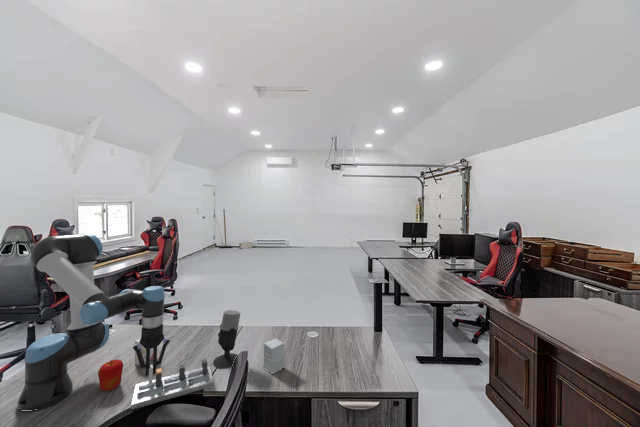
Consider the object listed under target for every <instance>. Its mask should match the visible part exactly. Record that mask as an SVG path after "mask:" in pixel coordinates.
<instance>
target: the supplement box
mask: <svg viewBox="0 0 640 427" xmlns="http://www.w3.org/2000/svg"><path fill="white" fill-rule="evenodd" d="M264 368H266V369H267V370H268V371H270V372H271V373H273V372H276V371H278V370H280V369H282V368H284V369H285V343H284V342H283V341H281V340H280V339H278V338H274V339H272V340H271V339H270V340H269V341H265V342H264V343H263V369H264Z"/></svg>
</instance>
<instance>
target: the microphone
mask: <svg viewBox="0 0 640 427" xmlns="http://www.w3.org/2000/svg"><path fill="white" fill-rule="evenodd" d="M240 319H241V312H240V311H237V310H225V311H224V312H223V315H222V319H221V324H220V325H219V332H218V333H217V335H218V340H217V342H218V344H219V346H220V347H221V349H222V350H223V351H224V352H223V353H224V354H220V355H219V356H217V357H216V358H214V360H213V362H212V365H213V367H214V368H216V369H220V370H225V368H227V369H230V368H233V367H232V364H233V361H234V359H235V357H236V356H237V355H238V354H236V353H234V352H233V353H231V351H232V350H234V348H235V345H236V340H237V334H238V329H239V324H240Z"/></svg>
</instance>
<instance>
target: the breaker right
mask: <svg viewBox="0 0 640 427" xmlns="http://www.w3.org/2000/svg"><path fill="white" fill-rule="evenodd" d="M207 366H208V359H207V358H205V359H204V358H203V359H202V360H201V368H202V371H200V375H203V374H206V373H208V369H207Z"/></svg>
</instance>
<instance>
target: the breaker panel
mask: <svg viewBox="0 0 640 427" xmlns="http://www.w3.org/2000/svg"><path fill="white" fill-rule="evenodd" d="M207 369H208V373H206V374H203V375H200V371H202V367H200V368H196V369H192V370H187V371H185V375H186V379H184V380H180V381H178V377H179V373H176V374H172V375H168V376H163V377H162V381H163V388H162V385H161V386H157V387H154V384H155V383H156V378H155V379H153V381H152V384H149V380H148V381H144V382H140V383H135V388H134V391H133V392H134V393H133V395H132V396H133V397H132V401H131V405H130V406H131V407H130V408H131V410H135V409H140V408H141V407H145V406H149V405H152V404H157V403H159V402H163V401H166V400H170V399H175V398H177V397H180V396H185V395H187V394H192V393H194V392H197V391H198V392H199V391H201V390H205V389H209V388H212V387H214V379H213V374H212V371H211V366H210V365H207Z"/></svg>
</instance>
